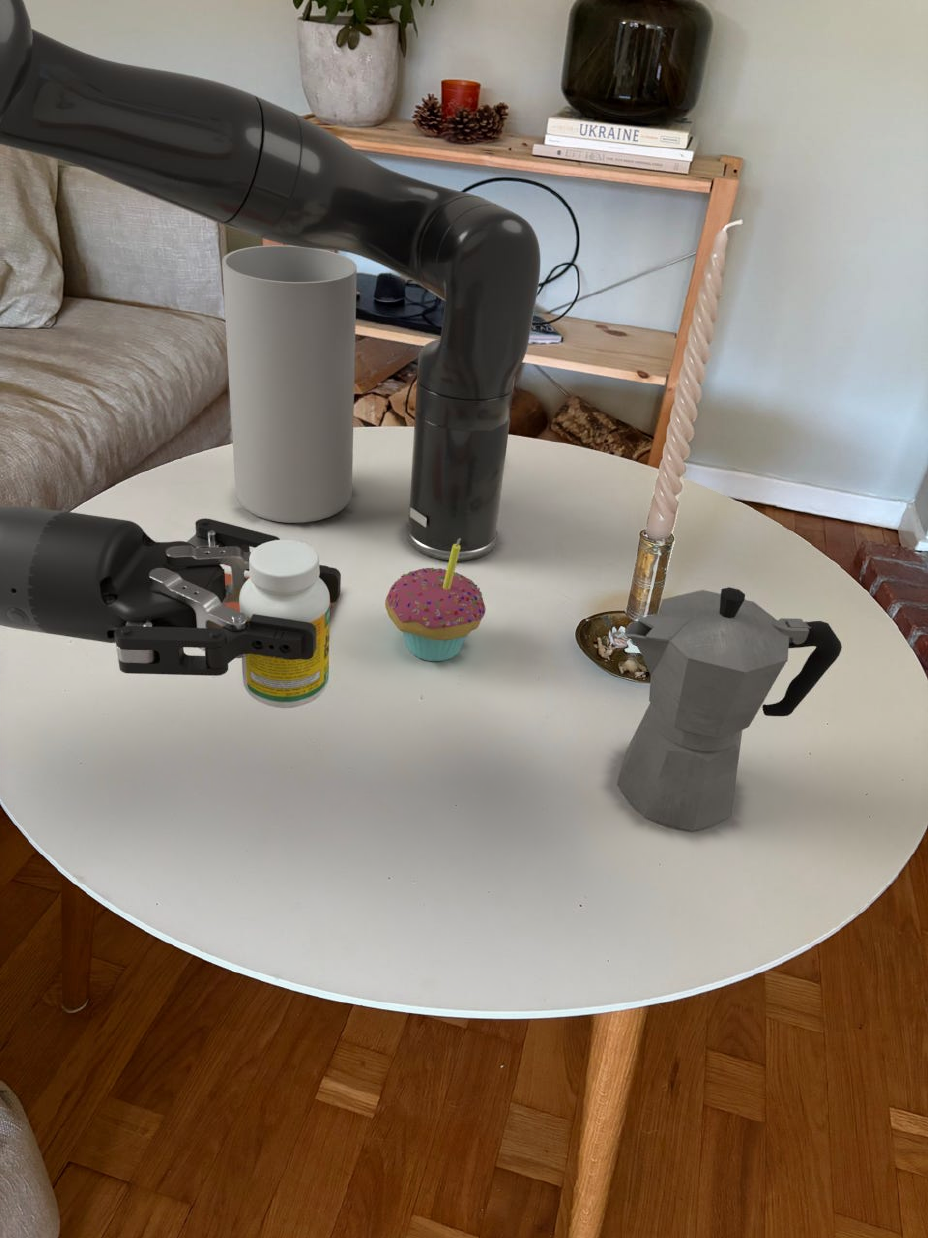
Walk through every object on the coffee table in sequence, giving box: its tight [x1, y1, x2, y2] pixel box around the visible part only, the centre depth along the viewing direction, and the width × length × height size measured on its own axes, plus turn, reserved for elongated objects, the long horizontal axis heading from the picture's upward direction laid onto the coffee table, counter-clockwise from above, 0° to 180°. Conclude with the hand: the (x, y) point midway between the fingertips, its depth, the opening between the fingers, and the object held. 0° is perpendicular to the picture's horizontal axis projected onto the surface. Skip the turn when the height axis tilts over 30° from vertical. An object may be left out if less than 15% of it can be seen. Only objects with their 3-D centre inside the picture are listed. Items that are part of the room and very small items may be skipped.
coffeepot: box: [616, 586, 843, 832], centre depth 68 cm, size 15×9×18 cm, turn 95°
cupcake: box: [384, 538, 487, 662], centre depth 82 cm, size 9×8×12 cm
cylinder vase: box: [221, 244, 358, 524], centre depth 98 cm, size 12×12×25 cm
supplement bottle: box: [239, 539, 331, 709], centre depth 58 cm, size 5×5×10 cm
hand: (326, 612), depth 57 cm, fingers closed on supplement bottle, 5 cm apart
